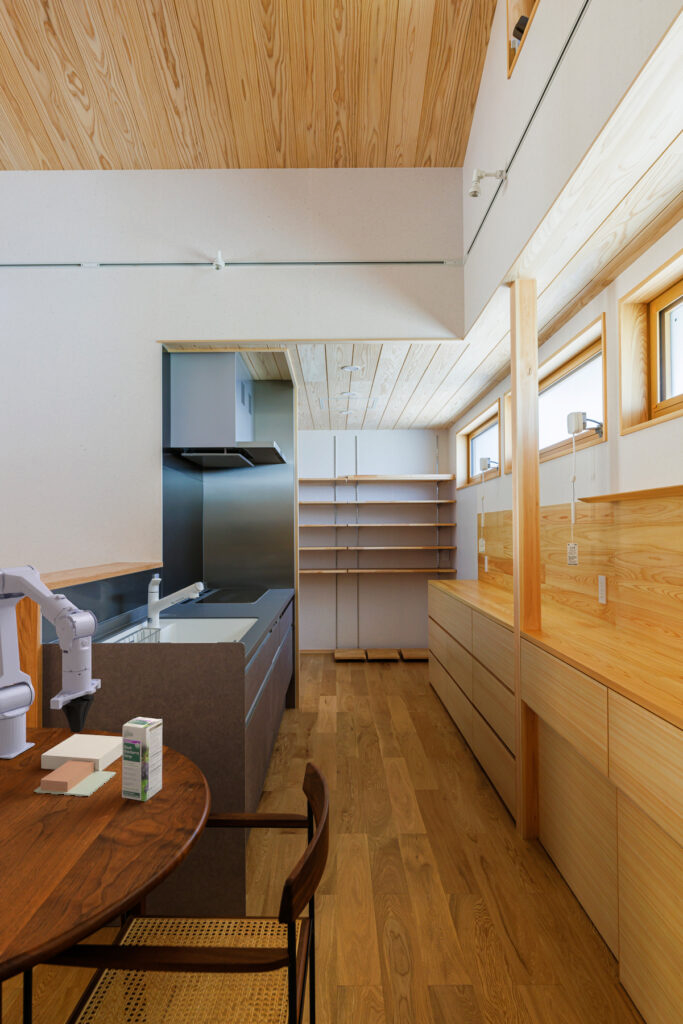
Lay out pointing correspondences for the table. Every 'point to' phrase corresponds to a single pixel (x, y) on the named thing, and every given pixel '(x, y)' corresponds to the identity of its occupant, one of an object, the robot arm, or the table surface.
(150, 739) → the syrup box
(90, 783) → the mat
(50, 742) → the table surface
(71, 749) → the white flat block
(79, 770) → the tile
